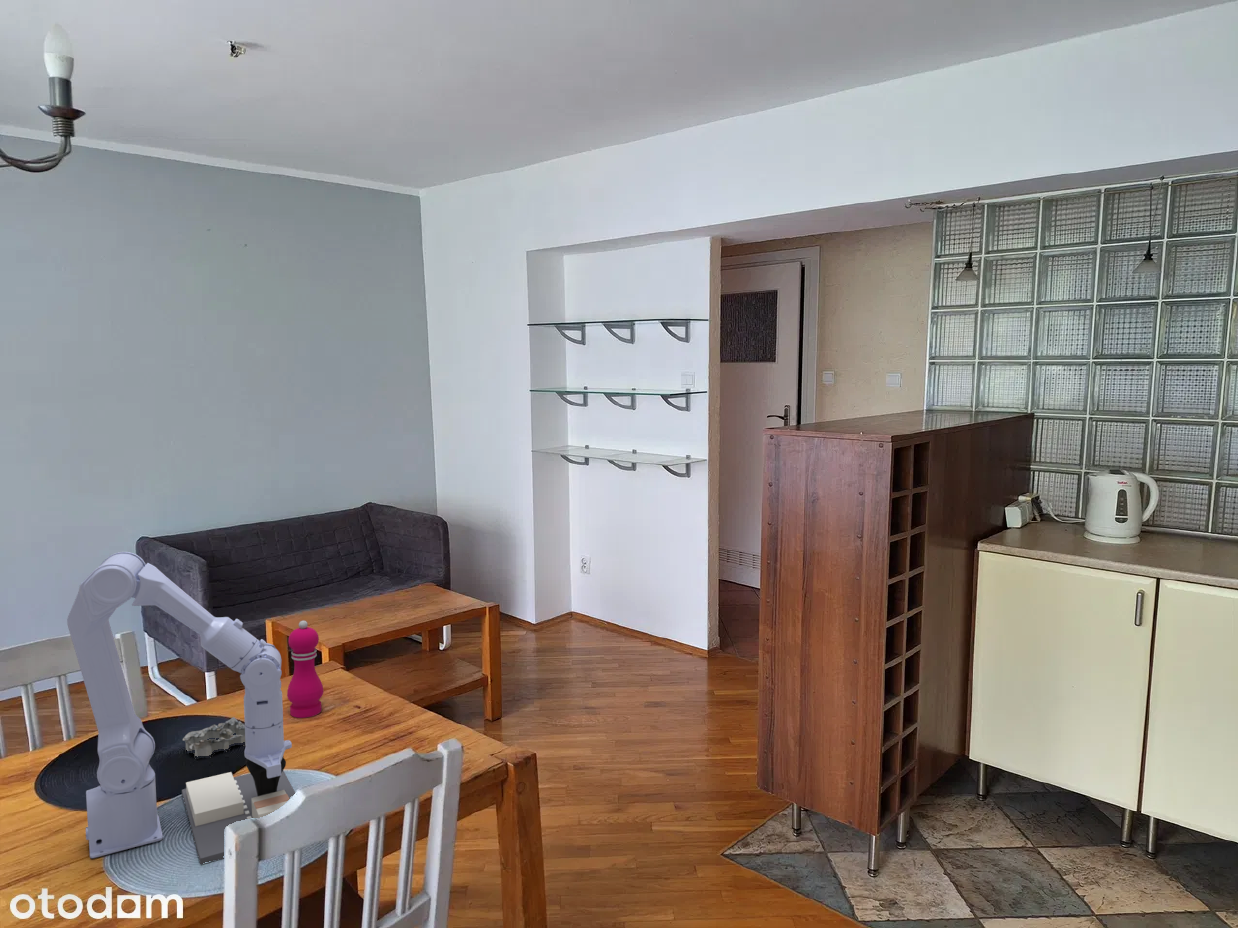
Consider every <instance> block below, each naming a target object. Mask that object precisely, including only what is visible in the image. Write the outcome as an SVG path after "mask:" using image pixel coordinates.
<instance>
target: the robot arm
mask: <svg viewBox="0 0 1238 928" xmlns="http://www.w3.org/2000/svg"><path fill="white" fill-rule="evenodd" d="M78 587H79V588H78V592H77V594H76V597H75V599H74V602H73V604H72V606H71V608H70V611H69V613H68V615H67V618H66V624H67V627H68V628H67V629H68V631H69V635H70V638H71V641H72V644H73V648H74V652H75V655H76V659H77V662H78V665H79V669H80V673H81V676H82V679H83V683H84V686H85V689H86V692H87V697H88V699H89V704H90V706H91V710H92V714H93V716H94V720H95V724H96V727H97V730H98V731H97V732H98V735H97V736H98V737H97V754H98V758H99V763H98V766H97V767H98V768H97V770H96V771H97V772H96V778H97V782H98V783H99V784H100V785H98V786H97V787H94V788H90V789H88V790H85V795H86V797H85V798H86V799H85V800H86V814H87V827H85V840H86V841H88V845H89V846H88V847H89V858H90V859H95V858H99V857H103V856H106V855H110V854H114V853H118V852H122V851H125V850H128V849H133V848H135V847H136V848H137V847H140V846H145V845H148V844H152V843H156V842H159V841H162V840H163V838H164V835H163V831H162V826H161V821H160V816H159V815H158V809H157V808H158V805H157V789H156V787H157V785H156V773H155V772H156V771H155V770H154V769H153V768H152V767H151V765H150V760H151V759H152V757H153V755H154V753H155V749H156V743H155V739H154V737H153V736H152V734H151V733H149V732H148V731H147V730H146V729H145V727H144V725H143V721H142V719H141V718H140V717H139V716H138V715H137V714H136V713H135V709H134V706H133V703H132V699H131V695H130V692H129V688H128V684H127V681H126V678H125V674H124V670H123V667H122V664H121V660H120V657H119V654H118V653H119V652H118V650H117V645H116V642H115V639H114V636H113V632H112V629H111V625H110V621H109V620H110V618H111V617H112V615H113V614H114V612H115V611H116V610H117V609H118V608H119V607H121V606H122V605H124V604H125V603H127V602H128V601H129V600H130V599H134V600H133V602H132V604H131V606H132V607H140V606H141V607H142V606H143V607H144V606H156V607H158V608H159V609H160V610H162V611H164V612H165V613H167V614H168V615H170V617H172V618H174V619H175V620H177V621H179V623H182V624H183V625H185V626H186V627H188V628H189V629H190V630H192V631H193V632H195V633H196V634H197V635H199V638H200V647H201V648H202V649H204V650H205V651H206V652H208V653H209V654H211V655H212V656H213V657H215V658H216V659H218V660H219V661H220V662H221V663H223V664H224V665H225V666H227V667H228V668H229V669H231V670H232V671H234V672H238V673H239V674H240V675H239V678H240V681H241V683H242V684H243V687H244V695H243V712H244V713H243V716H244V725H245V745H244V746H245V749H244V758H246V759H245V766H246V768H247V769H248V772H249V774H250V773H251V775H252V776H253V779H254V783H255V787H256V791H257V795H258V796H262V795H266V794H269V793H273V792H277V787H278V782H279V779H280V776H281V773H282V771H284V769H285V768H286V766H287V761H286V759H285V758H284V754H285V752H286V750H289V749H291V748H292V747H293V745H292V744H293V743H292V741H291V740H289V739H287V740H285V739H284V738H285V735H284V734H285V733H284V709H283V707H284V706H283V692H282V689H281V688H282V681H281V678H282V677H281V676H282V661H283V660H282V656H281V653H280V651H279V650H278V649H277V648H276V646H275V645H274V644H272V643H267V642H266V641H265V640H264V639H263V638H261V639H260V640H259V638H258V639H257V637H255V636H254V635H253V634H251V633H250V632H249V631H247V629H245V628H244V627H243V625H244V622H242V620H240V619H238V618H235V620H233V619H231V618H230V617H229V616H223V617H216V616H214V615H213V614H211V612H209V611H208V610H207V609H205V608H204V607H203V606H202V605H201V604H200V603H199V602H197V601H196V600H195V599H194V598H192V596H190V595H189V594H188V593H186V592H185V591H184V590H183V589H181V588H180V587H179V586H178V585H177V584H176V583H175V582H173V581H172V580H171V579H170V578H169V577H167V576H166V575H165V574H164V573H163V572H162V571H161V570H160V569H158V567H156V566H155V565H153V564H151V563H149V562H147V563H146V562H145V561H144V559H143V558H142V557H141V556H139V555H138V554H136V553H133V552H129V551H119V552H115V553H112V554H110V555H109V556H107V557H106V558H105V559H104V560H103V561H102V563H101V564H99V566H98V567H96V568H95V569H94V570H92V572H91V573H90V574H89V575H87V577H86V578H85V579H84V580H83V581H81V583H80V585H79V586H78Z"/></svg>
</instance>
